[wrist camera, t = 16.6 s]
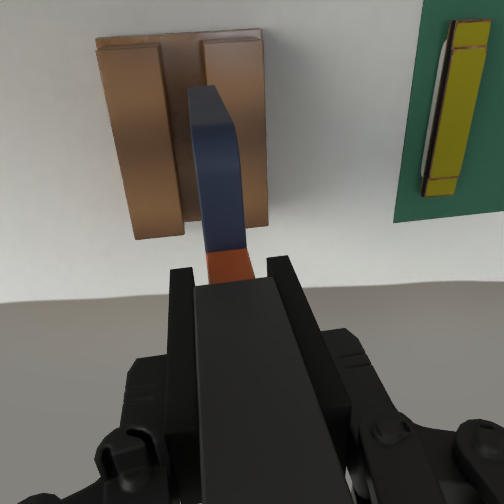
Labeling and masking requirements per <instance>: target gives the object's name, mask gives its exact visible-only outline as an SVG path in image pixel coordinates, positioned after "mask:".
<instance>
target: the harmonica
mask: <svg viewBox="0 0 504 504" xmlns="http://www.w3.org/2000/svg"><path fill="white" fill-rule="evenodd" d="M491 21H492V20H491V19H467V20H451V21H450V26H449V30H448V36H447V40H446V41H445V42H444V44H443V47H442V50H441V54H440V59H439V65H438V70H437V76H436V82H435V88H434V94H433V100H432V106H431V112H430V117H429V123H428V129H427V135H426V141H425V147H424V153H423V158H422V165H421V175H422V177H423V179H422V185H421V192H420V194H421V197H425V198H430V197H440V196H451V195H454V191H455V187H456V182H457V178H458V177H459V175H460V171H461V167H462V162H463V158H464V153H465V149H466V144H467V140H468V135H469V131H470V126H471V122H472V117H473V112H474V108H475V103H476V99H477V94H478V90H479V85H480V81H481V76H482V72H483V67H484V62H485V58H486V53H487V40H488V36H489V31H490V26H491Z"/></svg>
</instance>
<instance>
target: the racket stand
mask: <svg viewBox="0 0 504 504" xmlns="http://www.w3.org/2000/svg"><path fill="white" fill-rule="evenodd" d="M95 41H96V46H97V50H96V55H97V60H98V65H99V70H100V74H101V79H102V84H103V89H104V94H105V98H106V103H107V108H108V113H109V117H110V122H111V127H112V132H113V136H114V141H115V146H116V151H117V155H118V160H119V165H120V170H121V175H122V179H123V184H124V189H125V194H126V198H127V203H128V208H129V213H130V217H131V222H132V227H133V232H134V236H135V240H141V239H150V238H159V237H169V236H178V235H184V234H185V230H184V222H190V221H199V220H202V219H201V211H200V203H199V195H198V187H197V179H196V171H195V163H194V155H193V147H192V138H191V129H190V116H189V103H188V91H187V88H188V87H197V86H209V85H215V87H216V89H217V91H218V93H219V95H220V97H221V99H222V101H223V102H224V104H225V106H226V108H227V110H228V112H229V114H230V116H231V118H232V120H233V122H234V124H235V128H236V133H237V139H238V145H239V153H240V163H241V176H242V190H243V204H244V218H245V228H254V227H263V226H268V225H269V223H268V188H267V153H266V119H265V84H264V49H263V40H262V29H260V28H254V29H237V30H220V31H203V32H186V33H169V34H151V35H134V36H117V37H100V38H96V39H95Z"/></svg>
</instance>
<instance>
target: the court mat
mask: <svg viewBox="0 0 504 504" xmlns="http://www.w3.org/2000/svg"><path fill="white" fill-rule="evenodd" d="M467 19H491V20H492V21H491V26H490V31H489V36H488V40H487V53H486V58H485V62H484V67H483V72H482V76H481V81H480V85H479V90H478V94H477V99H476V103H475V108H474V112H473V117H472V122H471V126H470V131H469V135H468V140H467V144H466V149H465V153H464V158H463V162H462V167H461V171H460V175H459V177H458V178H457V182H456V187H455V191H454V195H451V196H440V197H430V198H425V197H421V194H420V192H421V185H422V179H423V177H422V175H421V165H422V158H423V153H424V147H425V141H426V135H427V129H428V123H429V117H430V112H431V106H432V100H433V94H434V88H435V82H436V76H437V70H438V65H439V59H440V54H441V50H442V47H443V44H444V42H445V41H446V40H447V36H448V30H449V26H450V21H451V20H467ZM498 211H504V0H424V2H423V9H422V16H421V24H420V31H419V38H418V46H417V53H416V60H415V68H414V75H413V82H412V90H411V97H410V104H409V112H408V119H407V126H406V134H405V141H404V148H403V156H402V163H401V170H400V178H399V185H398V192H397V200H396V207H395V214H394V222H393V223H398V222H407V221H416V220H425V219H434V218H444V217H453V216H462V215H471V214H480V213H489V212H498Z"/></svg>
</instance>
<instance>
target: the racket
mask: <svg viewBox="0 0 504 504" xmlns="http://www.w3.org/2000/svg"><path fill="white" fill-rule="evenodd" d="M187 91H188V103H189V116H190V129H191V138H192V147H193V155H194V163H195V171H196V179H197V187H198V195H199V203H200V211H201V219H202V227H203V235H204V242H205V250H206V260H207V269H208V279H209V285H201V286H195V287H194V289H193V296H194V320H195V345H196V369H197V393H198V417H199V441H200V466H201V490H202V504H355V503H354V501H353V498H352V495H351V492H350V489H349V487H348V484H347V481H346V479H345V475H344V473H343V470H342V467H341V464H340V461H339V459H338V456H337V453H336V450H335V447H334V445H333V442H332V439H331V436H330V434H329V431H328V428H327V425H326V422H325V420H324V417H323V414H322V411H321V408H320V406H319V403H318V400H317V397H316V394H315V392H314V389H313V386H312V383H311V380H310V378H309V375H308V372H307V369H306V366H305V364H304V361H303V358H302V355H301V352H300V350H299V347H298V344H297V341H296V338H295V336H294V333H293V330H292V327H291V324H290V322H289V319H288V316H287V313H286V310H285V308H284V305H283V302H282V299H281V297H280V294H279V291H278V288H277V285H276V283H275V280H274V278H273V277H264V278H256V279H255V275H254V272H253V268H252V265H251V261H250V258H249V254H248V251H247V245H246V231H245V218H244V204H243V190H242V176H241V163H240V153H239V145H238V139H237V133H236V128H235V124H234V122H233V120H232V118H231V116H230V114H229V112H228V110H227V108H226V106H225V104H224V102H223V101H222V99H221V97H220V95H219V93H218V91H217V89H216V87H215V85H209V86H197V87H188V88H187Z"/></svg>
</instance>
